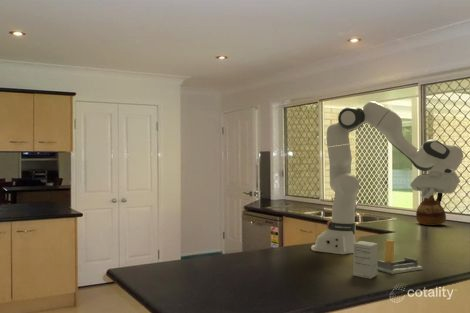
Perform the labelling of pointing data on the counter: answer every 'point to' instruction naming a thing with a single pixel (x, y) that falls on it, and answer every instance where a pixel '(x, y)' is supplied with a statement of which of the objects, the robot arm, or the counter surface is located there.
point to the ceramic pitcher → (431, 211)
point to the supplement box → (365, 259)
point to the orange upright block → (389, 252)
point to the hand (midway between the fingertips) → (424, 197)
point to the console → (399, 266)
